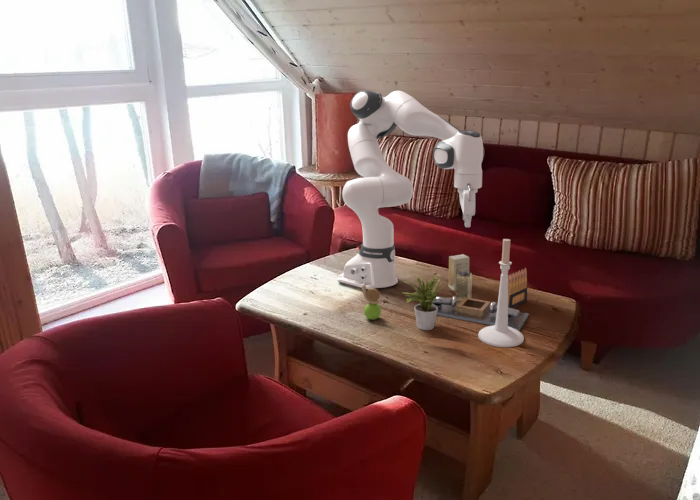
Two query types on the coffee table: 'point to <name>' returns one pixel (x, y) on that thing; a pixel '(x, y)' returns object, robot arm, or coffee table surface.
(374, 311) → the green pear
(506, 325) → the candlestick
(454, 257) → the skincare box
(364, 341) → the coffee table surface
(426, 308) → the house plant
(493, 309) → the shaft right
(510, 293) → the ammunition clip
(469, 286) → the pale yellow block
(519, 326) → the coupler station
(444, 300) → the shaft left
